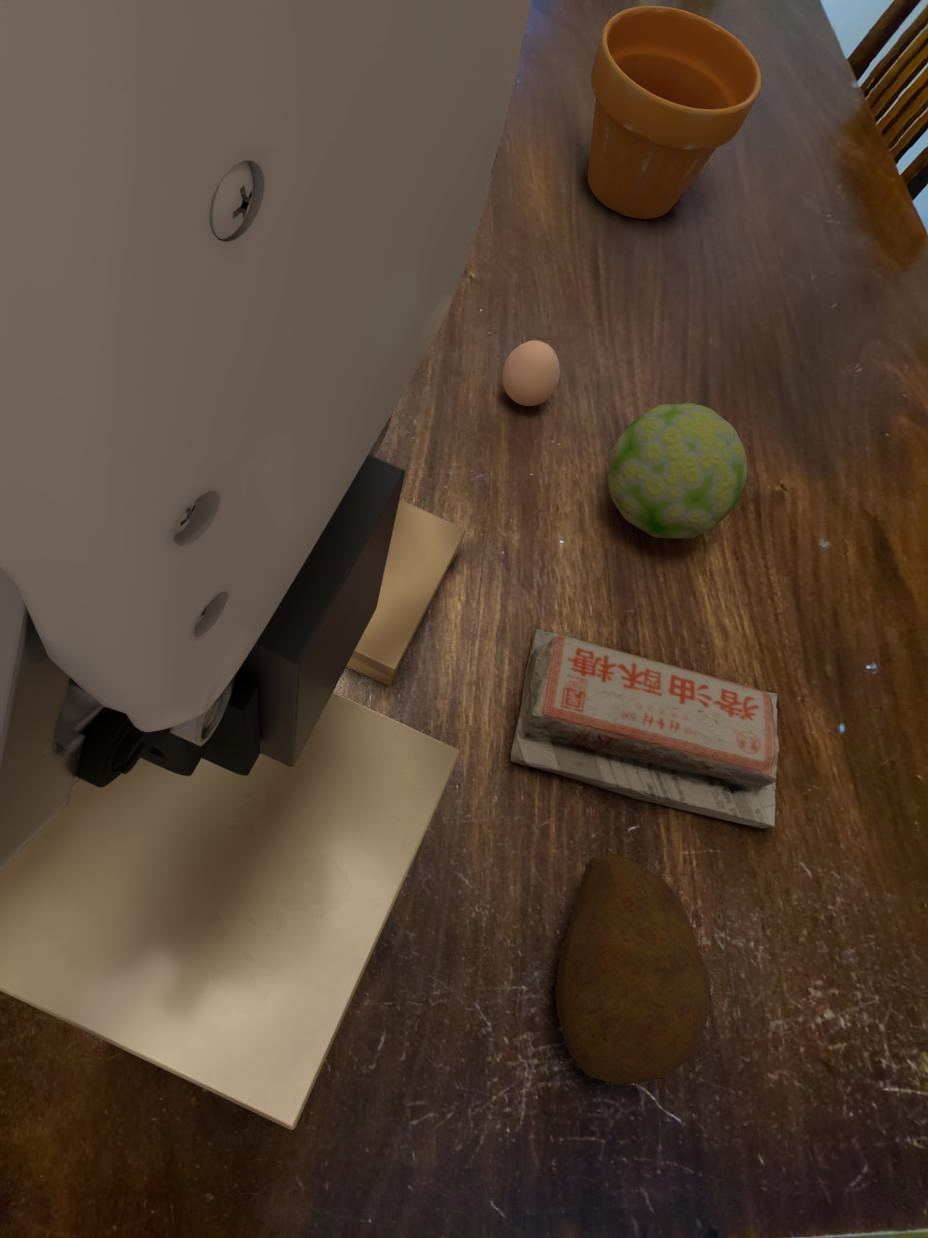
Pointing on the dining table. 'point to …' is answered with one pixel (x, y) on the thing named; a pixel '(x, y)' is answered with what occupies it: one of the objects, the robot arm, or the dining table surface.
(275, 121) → the robot arm
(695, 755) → the packaged product
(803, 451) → the dining table surface
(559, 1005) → the potato
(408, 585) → the tan flat square block
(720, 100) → the flower pot
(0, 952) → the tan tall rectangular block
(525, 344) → the egg
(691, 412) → the decorative ball
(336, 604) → the block
